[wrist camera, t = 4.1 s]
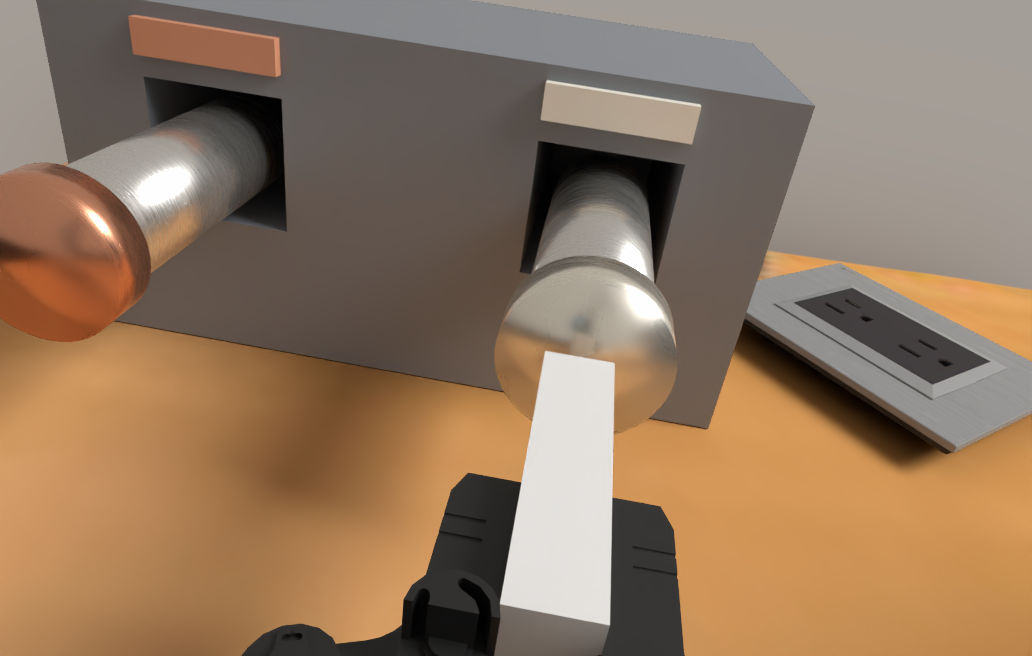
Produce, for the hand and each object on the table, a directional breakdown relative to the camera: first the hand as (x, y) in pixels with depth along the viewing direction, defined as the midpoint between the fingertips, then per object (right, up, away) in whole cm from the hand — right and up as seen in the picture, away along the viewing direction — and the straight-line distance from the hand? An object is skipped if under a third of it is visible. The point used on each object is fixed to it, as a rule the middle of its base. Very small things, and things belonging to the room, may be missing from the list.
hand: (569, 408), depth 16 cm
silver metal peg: (+1, +2, +8) cm, 8 cm away
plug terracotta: (-13, +4, +8) cm, 16 cm away
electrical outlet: (+16, -1, +20) cm, 26 cm away
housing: (-5, +3, +20) cm, 20 cm away
